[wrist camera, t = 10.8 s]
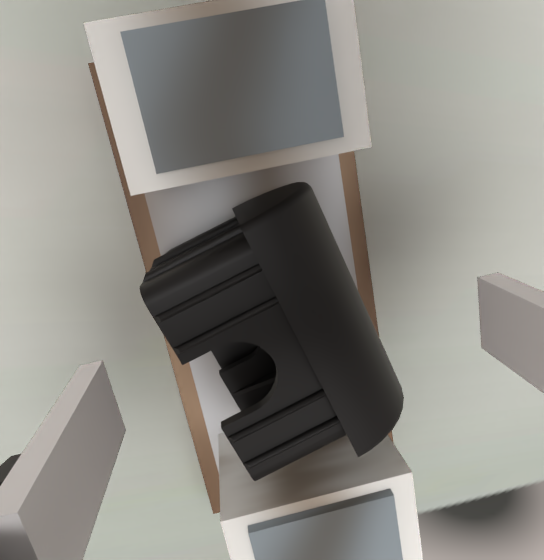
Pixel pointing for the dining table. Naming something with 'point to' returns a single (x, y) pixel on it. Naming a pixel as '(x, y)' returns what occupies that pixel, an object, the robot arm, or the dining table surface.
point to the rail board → (218, 208)
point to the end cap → (278, 330)
